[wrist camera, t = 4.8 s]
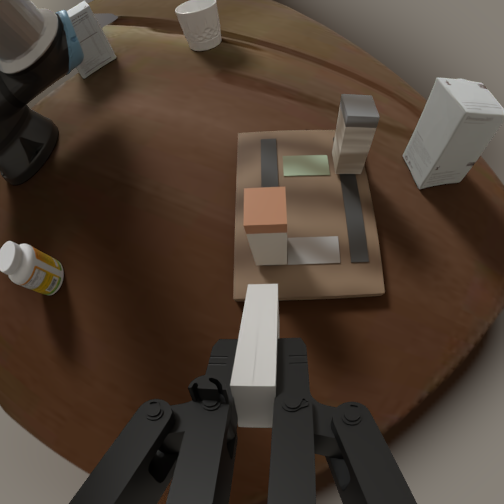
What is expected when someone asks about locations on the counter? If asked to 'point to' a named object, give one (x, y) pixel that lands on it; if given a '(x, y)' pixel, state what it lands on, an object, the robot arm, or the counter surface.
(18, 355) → the counter surface
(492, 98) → the skincare box
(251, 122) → the counter surface
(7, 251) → the supplement bottle
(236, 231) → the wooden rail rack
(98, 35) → the supplement box
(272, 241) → the tab
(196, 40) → the white cup
